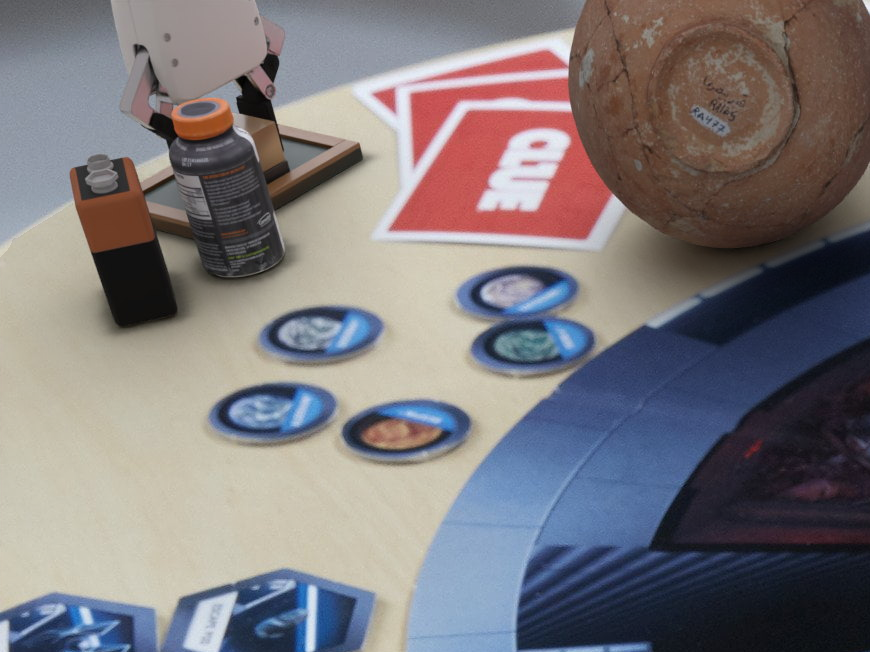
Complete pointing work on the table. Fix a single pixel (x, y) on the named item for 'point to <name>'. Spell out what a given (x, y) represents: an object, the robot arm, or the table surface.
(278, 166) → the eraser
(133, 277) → the battery
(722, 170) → the jug
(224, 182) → the pill bottle
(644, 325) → the table surface
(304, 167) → the board
